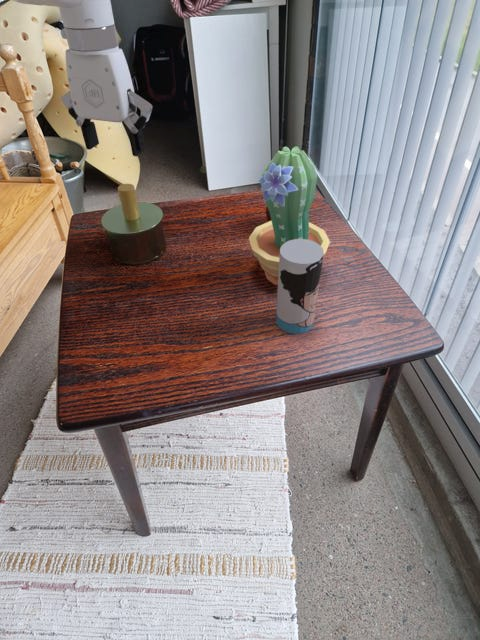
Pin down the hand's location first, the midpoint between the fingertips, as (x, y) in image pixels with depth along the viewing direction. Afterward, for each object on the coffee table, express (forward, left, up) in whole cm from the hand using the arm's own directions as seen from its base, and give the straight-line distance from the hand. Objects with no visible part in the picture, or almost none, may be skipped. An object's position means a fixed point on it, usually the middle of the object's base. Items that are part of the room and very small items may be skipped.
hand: (115, 150), depth 77 cm
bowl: (0, 0, -22) cm, 22 cm away
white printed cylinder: (+38, -11, -22) cm, 45 cm away
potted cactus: (+33, +2, -22) cm, 40 cm away
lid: (0, 0, -15) cm, 15 cm away
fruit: (+28, +19, -22) cm, 41 cm away
